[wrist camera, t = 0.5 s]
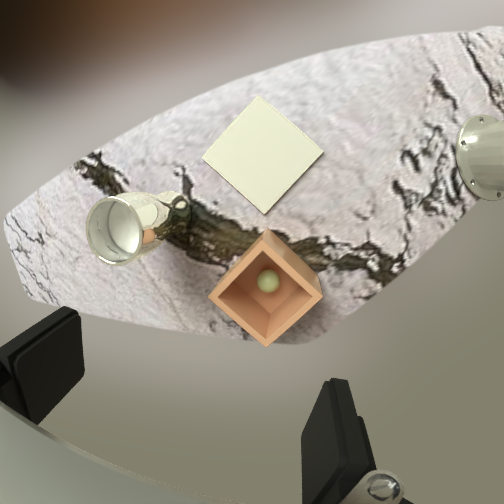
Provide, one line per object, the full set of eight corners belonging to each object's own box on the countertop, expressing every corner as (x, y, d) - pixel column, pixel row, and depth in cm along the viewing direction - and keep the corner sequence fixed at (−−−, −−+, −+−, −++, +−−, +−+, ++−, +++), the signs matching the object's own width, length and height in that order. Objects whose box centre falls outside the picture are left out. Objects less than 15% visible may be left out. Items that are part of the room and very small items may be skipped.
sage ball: (268, 261, 40) (266, 267, 37) (285, 276, 40) (284, 284, 37) (253, 277, 41) (250, 284, 38) (269, 292, 41) (268, 300, 38)
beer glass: (186, 245, 42) (135, 279, 27) (143, 228, 42) (79, 253, 27) (201, 196, 40) (152, 207, 25) (155, 181, 40) (91, 185, 26)
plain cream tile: (258, 95, 36) (258, 94, 35) (323, 151, 37) (323, 151, 36) (202, 157, 39) (201, 157, 38) (264, 214, 39) (264, 214, 39)
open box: (267, 227, 40) (262, 239, 32) (317, 274, 40) (323, 296, 33) (222, 275, 42) (207, 297, 34) (271, 318, 43) (266, 347, 35)
